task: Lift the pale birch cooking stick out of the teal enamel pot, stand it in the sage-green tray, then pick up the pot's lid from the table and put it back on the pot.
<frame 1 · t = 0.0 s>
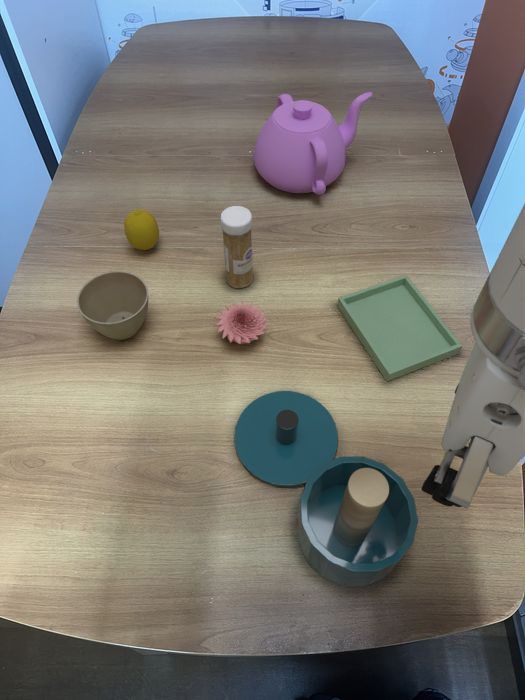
hand: (457, 445, 45), 24 cm above the table, tool pointing down, fingers open, 9 cm apart
teapot: (309, 170, 105), on the table
pot: (349, 530, 65), on the table
lemon: (146, 248, 93), on the table
stick: (350, 529, 64), resting on pot
pot lid: (286, 437, 71), point 1 cm above the table
sprinkles bottle: (239, 279, 88), on the table
bowl: (123, 327, 83), on the table
tray: (395, 329, 82), on the table
flower: (242, 337, 82), on the table
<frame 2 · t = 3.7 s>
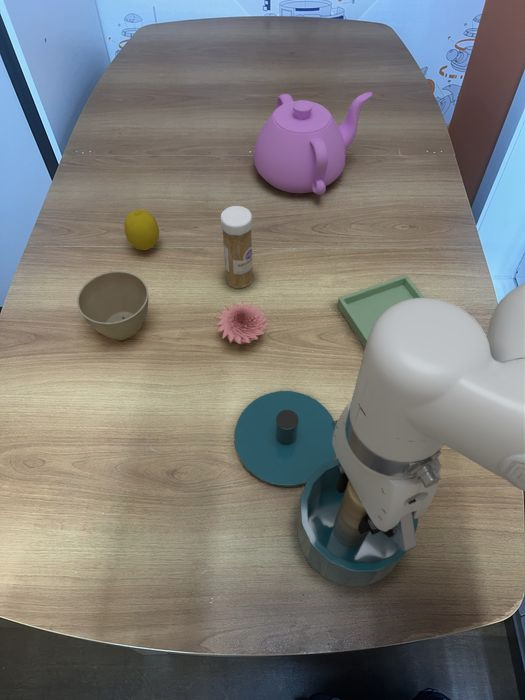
hand: (360, 504, 57), 9 cm above the table, tool pointing down, fingers closed on stick, 4 cm apart
stick: (350, 529, 64), point 1 cm above the table, touching gripper, pot
everything else where it was.
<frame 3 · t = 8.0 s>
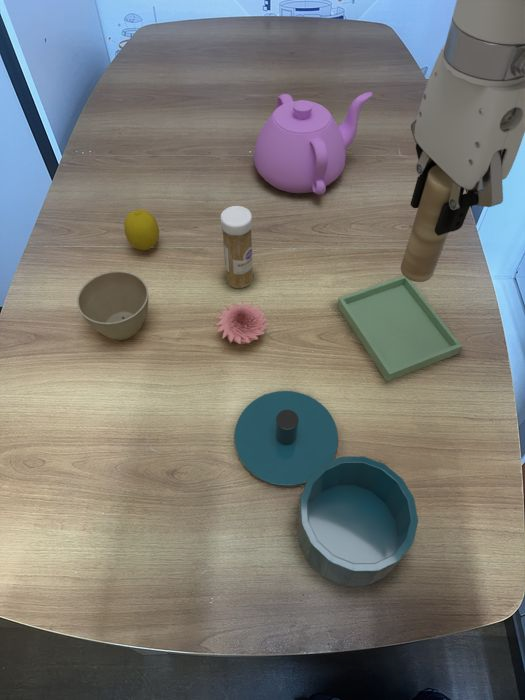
hand: (435, 215, 60), 25 cm above the table, tool pointing down, fingers closed on stick, 4 cm apart
stick: (416, 270, 67), point 16 cm above the table, touching gripper
everything else where it was.
when the fingers open (9 cm above the table, at t = 12.1 s): stick stays where it is, resting on tray.
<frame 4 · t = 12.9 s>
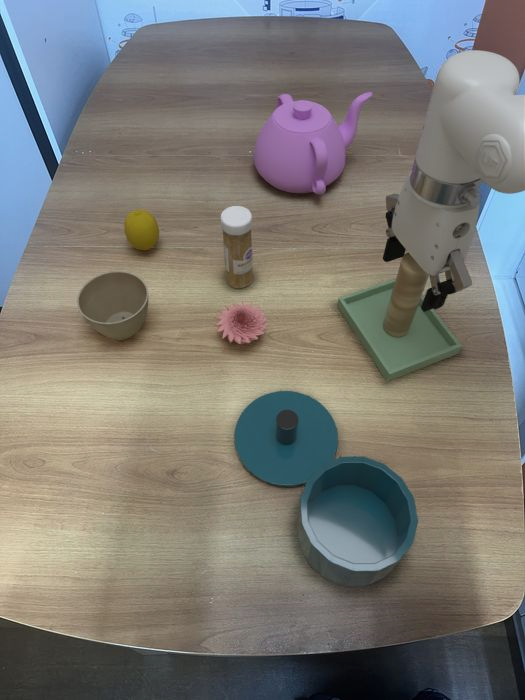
hand: (411, 281, 73), 11 cm above the table, tool pointing down, fingers open, 9 cm apart
stick: (395, 327, 82), resting on tray
everything else where it was.
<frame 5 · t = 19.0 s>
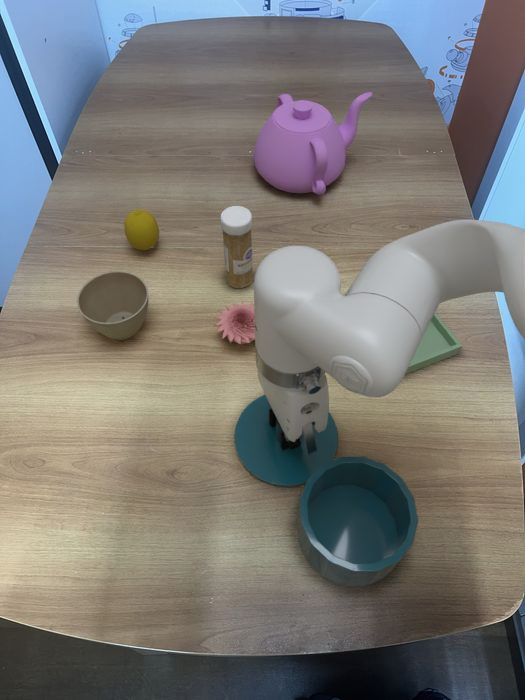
hand: (286, 432, 70), 2 cm above the table, tool pointing down, fingers closed on pot lid, 2 cm apart
pot lid: (286, 437, 71), point 1 cm above the table, touching gripper
everything else where it was.
when the fingers open (9 cm above the table, at t = 24.7 s): pot lid stays where it is, resting on pot.
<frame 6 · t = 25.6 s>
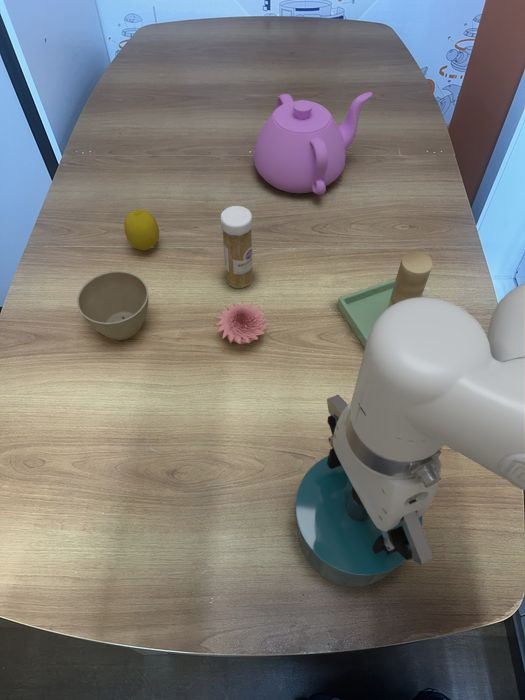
hand: (362, 501, 56), 10 cm above the table, tool pointing down, fingers open, 9 cm apart
pot lid: (358, 510, 59), point 7 cm above the table, touching pot
everything else where it was.
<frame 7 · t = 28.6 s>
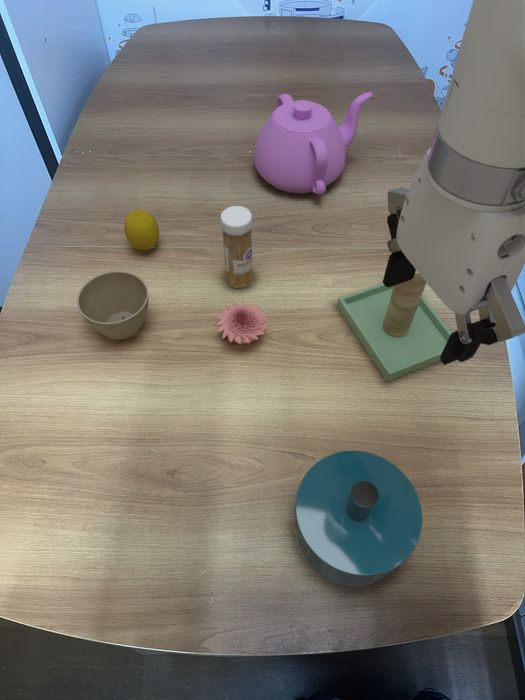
hand: (425, 317, 50), 26 cm above the table, tool pointing down, fingers open, 9 cm apart
nothing on the table moved.
at the end: stick inside the target area in the tray (0.1 cm from its centre), point 0.5 cm above the tray's base; pot lid 0.1 cm off-centre on the pot, point 7.5 cm above the pot's base; pot lid tilted 0° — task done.
